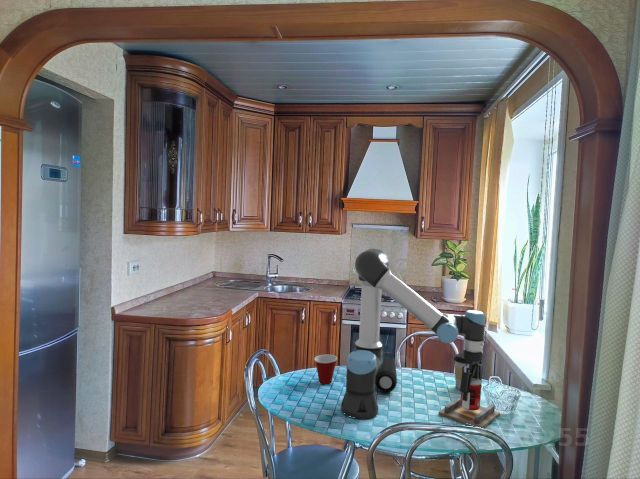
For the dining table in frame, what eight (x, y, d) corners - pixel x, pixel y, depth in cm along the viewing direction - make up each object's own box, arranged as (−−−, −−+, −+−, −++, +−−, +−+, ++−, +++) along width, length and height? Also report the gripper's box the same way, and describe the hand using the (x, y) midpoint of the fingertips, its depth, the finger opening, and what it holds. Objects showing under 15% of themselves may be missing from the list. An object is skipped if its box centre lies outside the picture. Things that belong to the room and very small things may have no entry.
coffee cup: (450, 388, 218) (451, 357, 217) (454, 382, 226) (456, 351, 225) (471, 393, 214) (473, 360, 213) (474, 386, 222) (476, 355, 221)
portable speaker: (375, 373, 234) (375, 354, 234) (395, 375, 233) (396, 355, 232) (374, 393, 209) (375, 371, 208) (396, 395, 208) (397, 373, 207)
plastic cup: (310, 379, 223) (311, 354, 222) (331, 377, 226) (332, 353, 226) (317, 387, 213) (318, 362, 212) (339, 386, 216) (340, 360, 215)
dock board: (481, 429, 178) (482, 420, 178) (438, 414, 190) (438, 405, 190) (500, 415, 191) (500, 406, 191) (458, 401, 203) (458, 393, 203)
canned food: (475, 402, 194) (477, 376, 194) (483, 411, 186) (484, 384, 186) (457, 402, 194) (458, 376, 193) (463, 410, 186) (465, 383, 185)
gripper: (471, 357, 179) (467, 415, 180) (492, 346, 194) (489, 400, 196) (452, 352, 184) (449, 409, 185) (475, 342, 199) (472, 395, 201)
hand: (470, 404), depth 190 cm, fingers closed on canned food, 8 cm apart
